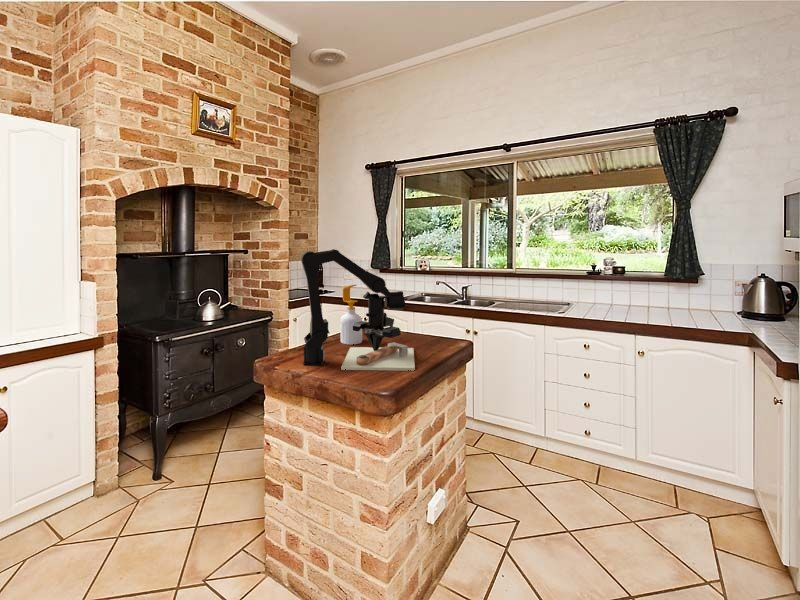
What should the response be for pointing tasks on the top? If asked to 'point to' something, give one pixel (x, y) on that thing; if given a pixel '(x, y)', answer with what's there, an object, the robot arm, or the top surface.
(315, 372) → the top surface
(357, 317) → the soap bottle
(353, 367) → the base board
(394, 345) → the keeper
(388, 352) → the link
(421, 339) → the top surface
